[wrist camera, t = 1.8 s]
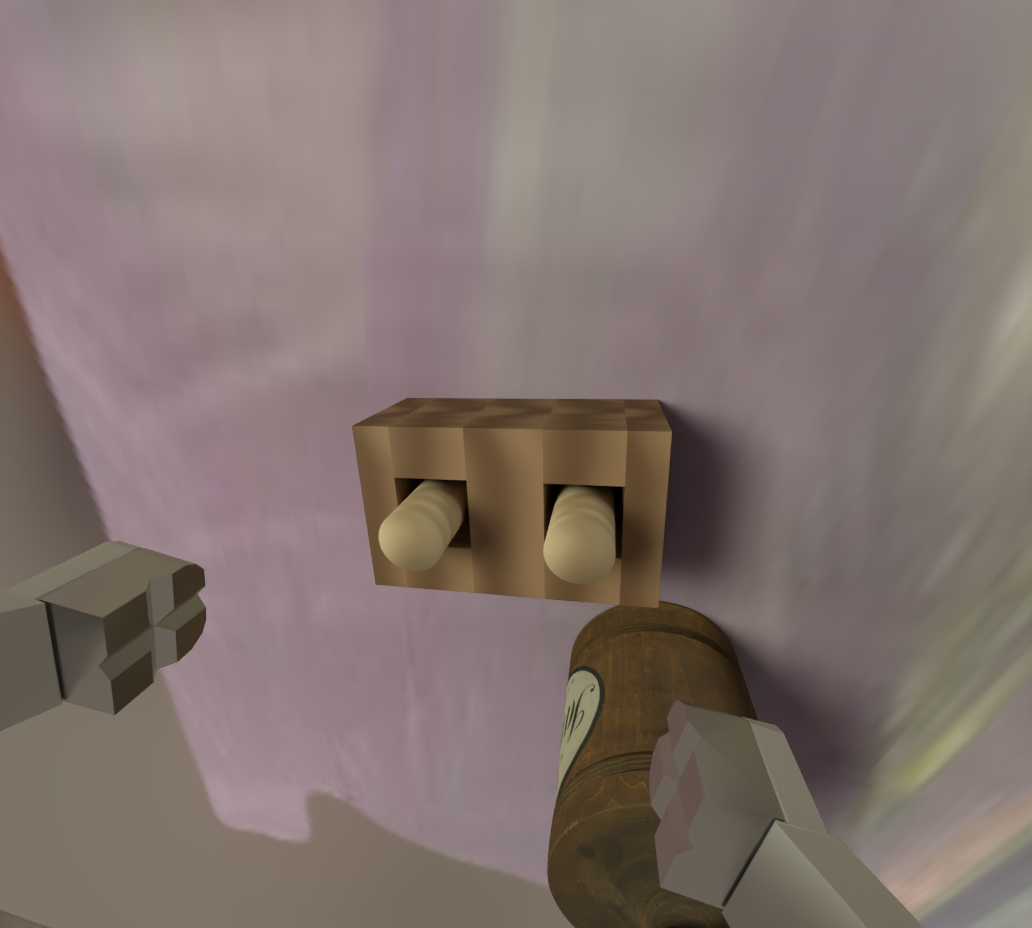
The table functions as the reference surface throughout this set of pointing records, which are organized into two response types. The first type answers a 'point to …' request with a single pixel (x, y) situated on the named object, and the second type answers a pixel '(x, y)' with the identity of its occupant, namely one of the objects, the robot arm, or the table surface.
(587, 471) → the socket block
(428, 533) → the peg
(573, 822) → the wooden container
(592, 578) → the peg
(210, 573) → the table surface
